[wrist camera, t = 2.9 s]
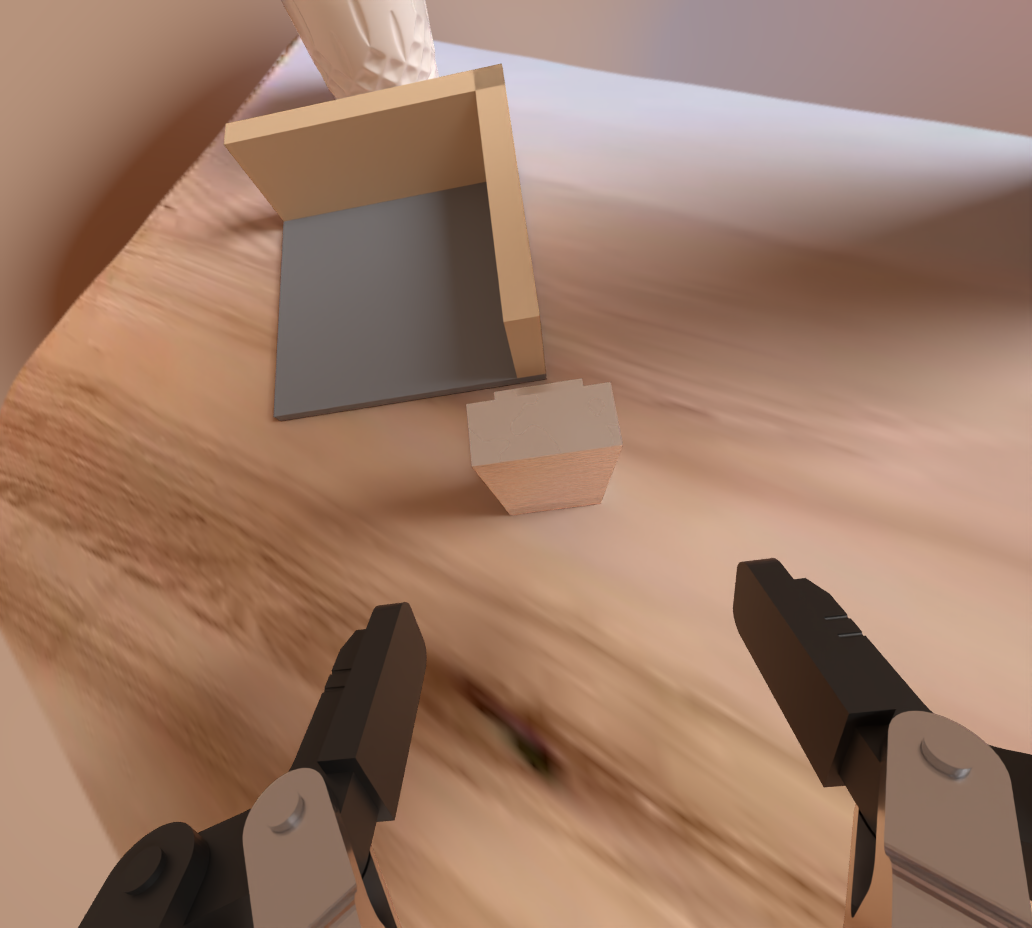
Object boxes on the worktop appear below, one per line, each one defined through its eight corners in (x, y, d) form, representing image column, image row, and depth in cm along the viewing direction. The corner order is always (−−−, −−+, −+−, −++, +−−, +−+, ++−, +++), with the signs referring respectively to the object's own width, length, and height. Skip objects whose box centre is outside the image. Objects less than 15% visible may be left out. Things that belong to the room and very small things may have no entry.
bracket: (581, 391, 23) (589, 271, 14) (600, 503, 21) (623, 444, 12) (498, 404, 23) (456, 294, 14) (510, 515, 21) (471, 466, 13)
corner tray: (514, 166, 27) (501, 63, 22) (546, 379, 23) (539, 315, 18) (290, 210, 28) (226, 123, 23) (280, 420, 24) (198, 373, 19)
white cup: (352, 170, 29) (245, -36, 19) (334, 92, 31) (231, -126, 22) (464, 132, 29) (412, -96, 19) (438, 57, 31) (379, -180, 21)
